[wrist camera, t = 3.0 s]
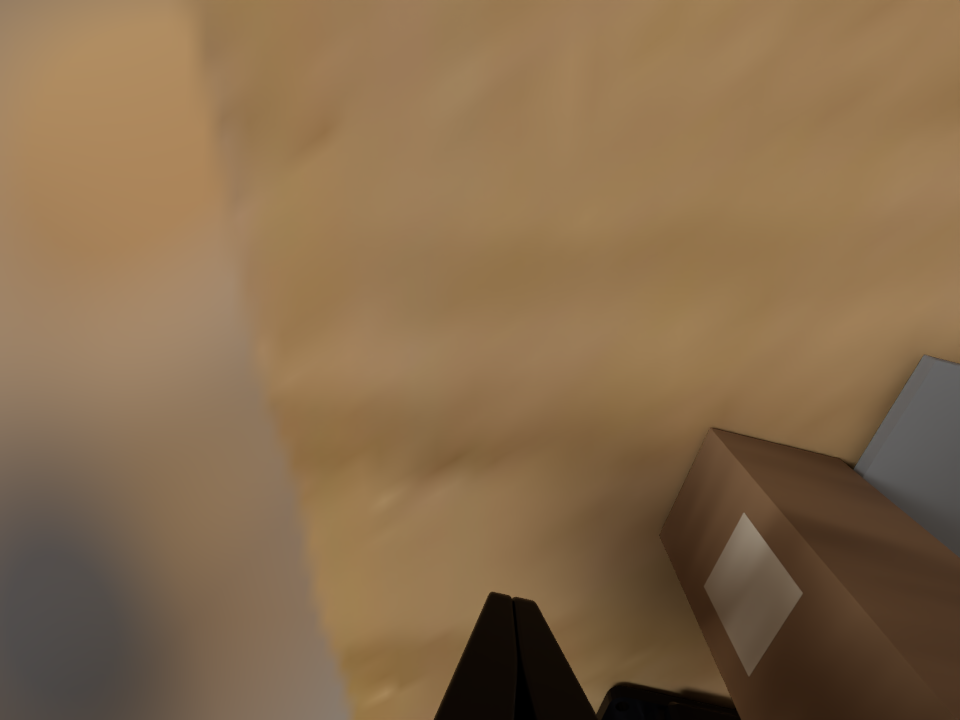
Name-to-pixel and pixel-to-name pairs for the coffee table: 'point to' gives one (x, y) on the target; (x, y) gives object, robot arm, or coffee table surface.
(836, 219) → the coffee table surface
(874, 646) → the walnut block
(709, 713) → the robot arm
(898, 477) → the felt mat
